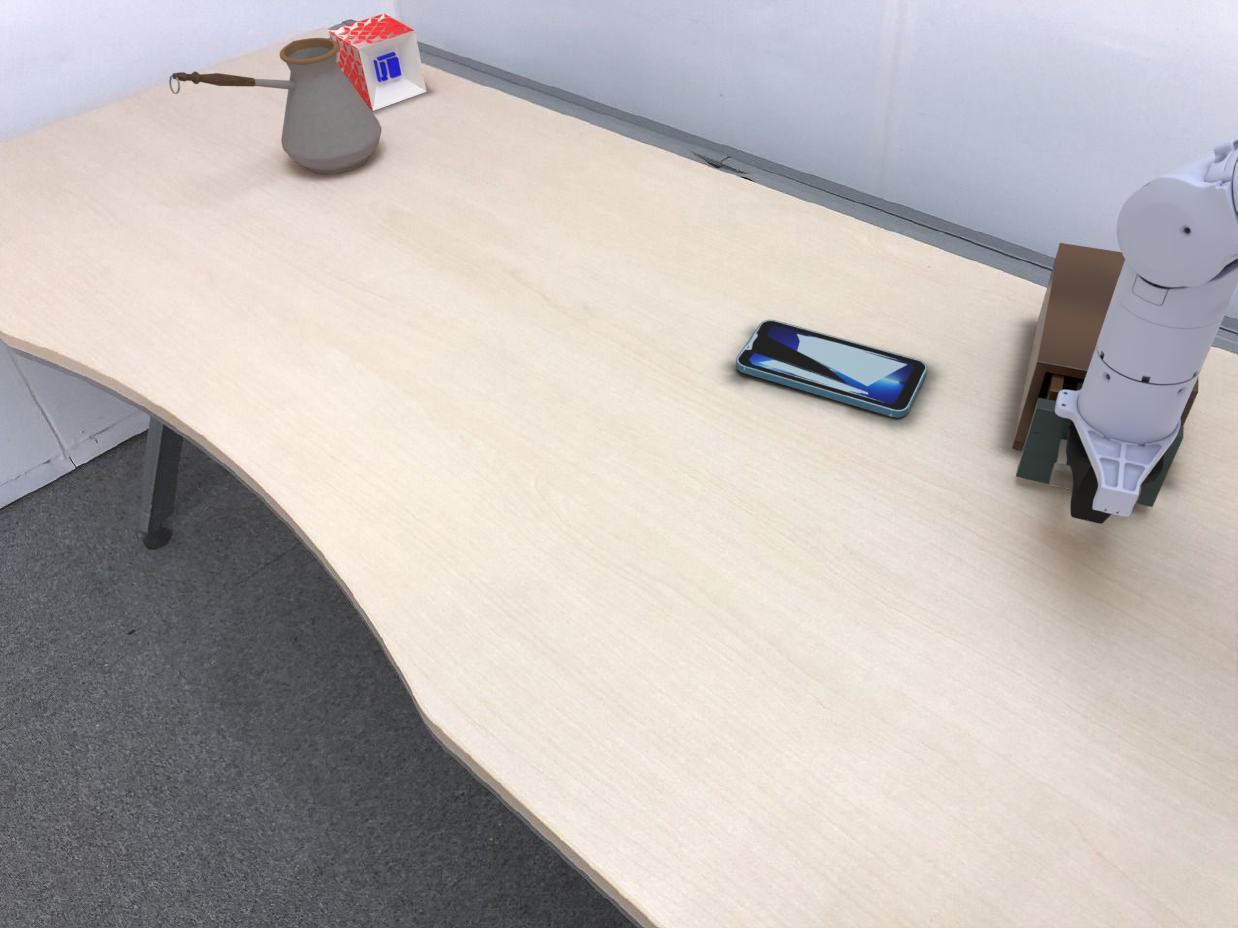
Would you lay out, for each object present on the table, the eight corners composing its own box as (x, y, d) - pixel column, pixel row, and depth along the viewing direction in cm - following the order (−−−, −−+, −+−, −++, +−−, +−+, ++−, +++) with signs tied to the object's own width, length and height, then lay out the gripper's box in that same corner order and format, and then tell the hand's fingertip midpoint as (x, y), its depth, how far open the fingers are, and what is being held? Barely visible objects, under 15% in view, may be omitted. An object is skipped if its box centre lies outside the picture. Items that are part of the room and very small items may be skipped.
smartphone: (905, 414, 82) (731, 363, 87) (903, 423, 83) (731, 372, 88) (930, 362, 86) (764, 316, 92) (928, 371, 87) (764, 325, 92)
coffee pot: (354, 126, 127) (323, 1, 116) (405, 156, 120) (377, 27, 110) (193, 190, 117) (143, 60, 107) (238, 226, 111) (190, 92, 100)
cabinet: (1159, 480, 76) (1198, 391, 71) (1011, 448, 80) (1036, 361, 74) (1166, 350, 87) (1200, 264, 81) (1036, 327, 91) (1059, 242, 85)
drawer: (1150, 550, 71) (1182, 480, 66) (1007, 517, 73) (1029, 447, 69) (1160, 377, 83) (1187, 308, 79) (1038, 354, 86) (1058, 287, 82)
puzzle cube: (396, 74, 137) (384, 13, 132) (426, 92, 133) (415, 30, 127) (343, 92, 134) (328, 31, 129) (372, 111, 129) (357, 49, 124)
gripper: (1085, 275, 66) (1037, 432, 75) (1064, 417, 56) (1011, 576, 66) (1206, 295, 64) (1141, 454, 73) (1205, 446, 54) (1130, 606, 64)
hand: (1087, 514), depth 69 cm, fingers closed
